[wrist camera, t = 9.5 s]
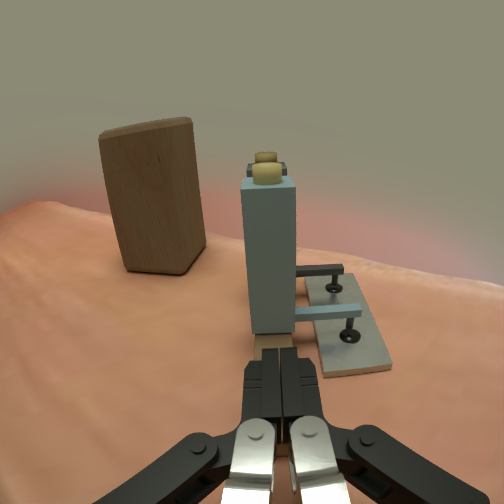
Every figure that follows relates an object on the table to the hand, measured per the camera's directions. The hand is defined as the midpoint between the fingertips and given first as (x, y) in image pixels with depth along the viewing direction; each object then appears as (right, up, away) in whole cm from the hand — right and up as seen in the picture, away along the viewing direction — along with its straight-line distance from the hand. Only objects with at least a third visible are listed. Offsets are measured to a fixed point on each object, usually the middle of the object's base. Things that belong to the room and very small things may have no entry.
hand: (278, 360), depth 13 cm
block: (-14, +4, +31) cm, 34 cm away
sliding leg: (+4, -2, +14) cm, 14 cm away
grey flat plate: (+8, -2, +16) cm, 18 cm away
